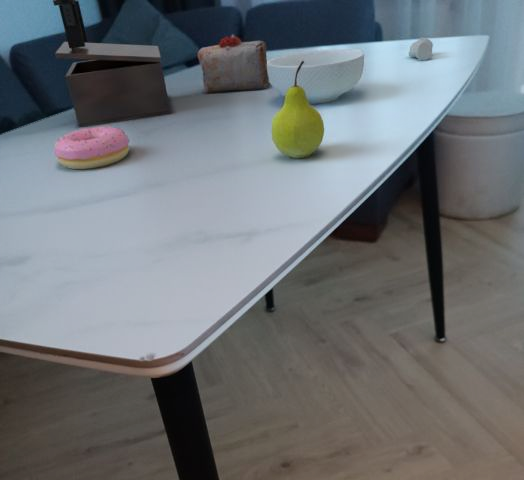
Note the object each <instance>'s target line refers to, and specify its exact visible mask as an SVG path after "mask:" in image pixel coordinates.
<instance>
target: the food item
mask: <svg viewBox="0 0 524 480" xmlns="http://www.w3.org/2000/svg"><path fill="white" fill-rule="evenodd" d="M197 58H198V62H199V65H200V67H201V71H202V83H203V88H204V92H205V94H217V93H218V94H219V93H225V92H227V93H228V92H240V91H255V90H265V89H267V88H269V85H270V81H269V78H268V73H267V62H268V59H267V44H266V42H265V41H263V40H253V41H242V39H241V38H240V37H237V36H235V34H234V33H232V34H231V35H230V37H228V35H226V36H225V37H223V38H221V39H220V42H219V43H218V44H215V45H210V46H206V47H201V48H200V49H199V51H197Z"/></svg>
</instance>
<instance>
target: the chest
mask: <svg viewBox="0 0 524 480" xmlns="http://www.w3.org/2000/svg"><path fill="white" fill-rule="evenodd" d="M65 81H66V84H67V88H68V91H69V95H70V99H71V102H72V106H73V111H74V115H75V118H76V121H77V124H78V128H85V127H92V126H93V127H94V126H100V125H107V124H111V123H118V122H125V121H132V120H138V119H145V118H153V117H158V116H160V117H161V116H166V115H171V114H172V113H171V107H170V103H169V96H168V91H167V86H166V80H165V74H164V69H163V63H162V61H161V62H141V61H116V60H92V59H88V60H83V61H75V62H72V64H71V65H70V67H69V69H68V71H67V72H66V74H65Z"/></svg>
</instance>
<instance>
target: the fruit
mask: <svg viewBox="0 0 524 480" xmlns="http://www.w3.org/2000/svg"><path fill="white" fill-rule="evenodd" d="M303 63H304V61H302V62H301V64H300V65H299V67H298V69H297V72H296V76H295V83H294V86H292V87H290V88H289V89H288V91H287V93H286V96H284V97H285V98H284V103H283V106H282V108H281V109H279V111H278V112H276V113H275V115H274V117H273V118H272V121H271V127H270V129H271V130H270V131H271V138H272V140H273V141H272V142H273V144H274V146H275V148H276V149H277V150H278V151H279V152H280V153H281V154H284V155H286V156H288V157H290V158H292V159H305V158H308V157H310V156H311V155H313V153H315V152H316V151H317V150H318V148H319V147H321V146H320V145H321V144H322V142H323V139H324V133H325V125H324V121H323V118H322V115H321V114H320V113H319V111H318V110H317V109H316V108H315V107H314V106H312V104H309V103H308V100H307V98H306V94H305V91H304V89H303V88H302V87H301V86H297V81H296V80H297V74H298V72H299V70H300V69H301V66H302V65H303Z"/></svg>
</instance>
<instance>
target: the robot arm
mask: <svg viewBox="0 0 524 480" xmlns="http://www.w3.org/2000/svg"><path fill="white" fill-rule="evenodd" d="M52 2H53V6H54V7H56V6H58V8H59V9H58V10H59V12H60V17H61V21H62V23H63V24H62V25H63V29H64V32H65V37H66V42H68V45H69V48H77V47H85V43H89V42H88V41H89V40H88V37H87V31H86V27H85V22H84V19H83V15H82V10H81V5H80V0H52ZM78 16H79V17H78Z"/></svg>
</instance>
